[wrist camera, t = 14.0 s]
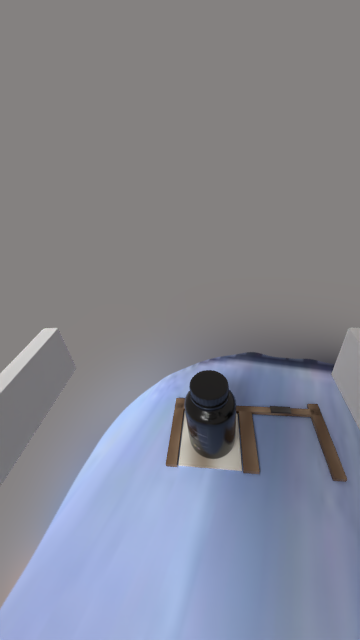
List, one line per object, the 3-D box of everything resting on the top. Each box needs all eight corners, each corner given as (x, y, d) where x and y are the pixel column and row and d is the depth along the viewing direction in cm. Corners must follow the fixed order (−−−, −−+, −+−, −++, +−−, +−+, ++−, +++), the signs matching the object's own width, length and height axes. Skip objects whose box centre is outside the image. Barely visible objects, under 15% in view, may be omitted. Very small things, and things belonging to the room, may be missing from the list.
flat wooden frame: (316, 406, 40) (318, 403, 39) (346, 481, 31) (348, 478, 30) (176, 400, 43) (176, 396, 43) (166, 466, 34) (165, 462, 34)
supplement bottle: (209, 409, 41) (207, 356, 34) (244, 437, 36) (249, 382, 30) (179, 437, 37) (170, 384, 30) (213, 472, 33) (212, 419, 26)
